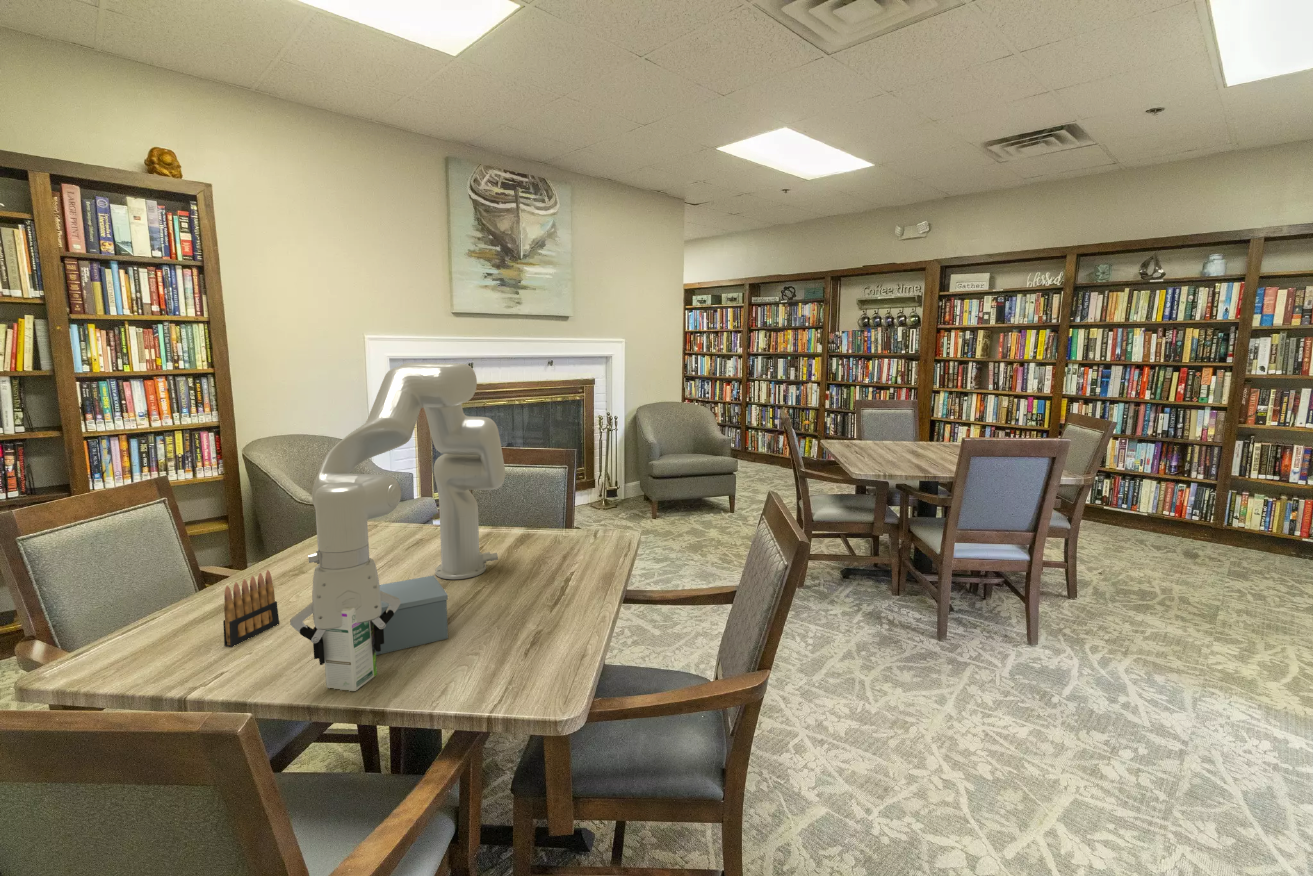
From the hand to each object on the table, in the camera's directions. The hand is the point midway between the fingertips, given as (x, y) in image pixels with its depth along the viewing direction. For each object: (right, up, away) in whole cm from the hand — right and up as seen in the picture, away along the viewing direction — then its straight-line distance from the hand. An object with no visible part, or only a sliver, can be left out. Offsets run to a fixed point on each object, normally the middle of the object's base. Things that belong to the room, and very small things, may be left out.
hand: (350, 654), depth 102 cm
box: (+1, -3, +18) cm, 18 cm away
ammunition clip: (-29, -3, +18) cm, 34 cm away
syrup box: (0, -5, +1) cm, 5 cm away
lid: (+1, +5, +17) cm, 17 cm away
